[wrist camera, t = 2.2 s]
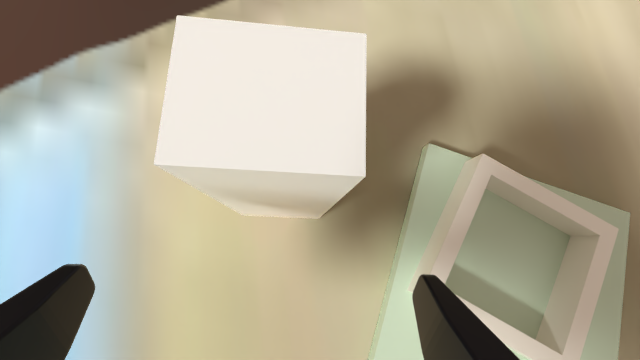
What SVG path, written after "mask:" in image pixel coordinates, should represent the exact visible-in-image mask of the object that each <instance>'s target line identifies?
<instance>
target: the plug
mask: <svg viewBox="0 0 640 360" xmlns="http://www.w3.org/2000/svg"><path fill="white" fill-rule="evenodd" d="M154 165H155V166H157V167H159V168H161V169H162V170H164V171H166V172H168V173H169V174H171V175H173V176H175V177H176V178H178V179H180V180H182V181H183V182H185V183H187V184H189V185H190V186H192V187H194V188H195V189H197V190H199V191H201V192H202V193H204V194H206V195H208V196H209V197H211V198H213V199H215V200H216V201H218V202H220V203H222V204H223V205H225V206H227V207H229V208H230V209H232V210H234V211H236V212H237V213H239V214H241V215H246V216H268V217H291V218H313V219H319V218H320V217H321V216H322V215H323V214H325V213H326V212H327V211H328V210H329V209H330V208H331V207H332V206H334V205H335V204H336V203H337V202H338V201H339V200H340V199H341V198H342V197H344V196H345V195H346V194H347V193H348V192H349V191H350V190H351V189H352V188H354V187H355V186H356V185H357V184H358V183H359V182H360V181H361V180H362V179H364V178H365V177H366V34H364V33H353V32H343V31H333V30H322V29H312V28H302V27H291V26H281V25H271V24H260V23H250V22H240V21H229V20H219V19H209V18H198V17H188V16H177V19H176V25H175V32H174V38H173V45H172V51H171V58H170V64H169V70H168V77H167V83H166V90H165V96H164V102H163V109H162V115H161V122H160V128H159V134H158V141H157V147H156V154H155V160H154Z"/></svg>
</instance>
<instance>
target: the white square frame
mask: <svg viewBox="0 0 640 360" xmlns="http://www.w3.org/2000/svg"><path fill="white" fill-rule="evenodd" d="M485 189H487V190H489V191H491V192H493V193H494V194H496V195H498V196H500V197H502V198H503V199H505V200H507V201H509V202H510V203H512V204H514V205H516V206H518V207H519V208H521V209H523V210H525V211H527V212H528V213H530V214H532V215H534V216H535V217H537V218H539V219H541V220H543V221H544V222H546V223H548V224H550V225H552V226H553V227H555V228H557V229H559V230H560V231H562V232H564V233H566V234H568V235H569V236H570V239H569V242H568V245H567V248H566V251H565V254H564V257H563V260H562V263H561V266H560V269H559V272H558V275H557V278H556V281H555V284H554V286H553V289H552V292H551V295H550V298H549V301H548V304H547V307H546V310H545V313H544V316H543V319H542V322H541V325H540V328H539V331H538V334H537V337H536V340H534V339H533V338H531V337H529V336H527V335H526V334H524V333H522V332H520V331H519V330H517V329H515V328H513V327H512V326H510V325H508V324H506V323H505V322H503V321H501V320H499V319H498V318H496V317H494V316H492V315H491V314H489V313H487V312H485V311H484V310H482V309H480V308H478V307H477V306H475V305H473V304H471V303H470V302H468V301H466V300H464V299H462V298H461V297H459V296H457V295H456V296H457V297H458V298H459V299H460V300H461V301H462V302H463V303H464V304H465V305H466V306H467V307H468V308H469V309H470V310H471V311H472V312H473V313H474V314H475V315H476V316H477V317H478V318H479V319H480V320H481V321H482V322H483V323H484V324H485V325H486V326H487V327H488V328H489V329H490V330H491V331H492V332H493V333H494V334H495V335H496V336H497V337H498V338H499V339H500V340H501V341H502V342H503V343H504V344H505V345H506V346H507V347H508V348H509V349H511V350H513V351H515V352H516V353H518V354H520V355H522V356H523V357H525V358H527V359H529V360H580V357H581V354H582V351H583V347H584V344H585V341H586V337H587V334H588V331H589V327H590V324H591V321H592V317H593V314H594V311H595V307H596V304H597V301H598V297H599V294H600V291H601V287H602V284H603V281H604V277H605V274H606V271H607V267H608V264H609V261H610V257H611V254H612V250H613V247H614V244H615V240H616V237H617V234H618V230H619V229H618V228H616V227H614V226H613V225H611V224H609V223H607V222H605V221H604V220H602V219H600V218H598V217H597V216H595V215H593V214H591V213H589V212H588V211H586V210H584V209H582V208H580V207H579V206H577V205H575V204H573V203H571V202H570V201H568V200H566V199H564V198H562V197H561V196H559V195H557V194H555V193H553V192H552V191H550V190H548V189H546V188H544V187H543V186H541V185H539V184H537V183H535V182H534V181H532V180H530V179H528V178H527V177H525V176H523V175H521V174H519V173H518V172H516V171H514V170H512V169H510V168H509V167H507V166H505V165H503V164H501V163H500V162H498V161H496V160H494V159H492V158H491V157H489V156H487V155H485V154H480V155H478V156H476V157H474V158H472V159H470V160H468V161H466V162H465V163H464V165H463V167H462V170H461V172H460V174H459V176H458V178H457V181H456V183H455V185H454V187H453V189H452V192H451V194H450V196H449V198H448V200H447V203H446V205H445V207H444V209H443V211H442V214H441V216H440V218H439V220H438V223H437V225H436V227H435V229H434V231H433V234H432V236H431V238H430V240H429V242H428V245H427V247H426V249H425V251H424V253H423V256H422V258H421V260H420V262H419V264H418V267H417V269H416V271H415V273H414V275H413V278H412V280H411V282H410V284H409V286H408V289H407V290H408V291H410V292H411V293H413V290H414V288H415V285H416V283H417V281H418V278H419V276H420V275H422V274H430V275H435V276H437V277H438V278H439V279H440V280H441V281H442V282H443V283H444V284H445V283H446V280H447V278H448V276H449V273H450V271H451V269H452V266H453V264H454V262H455V259H456V257H457V255H458V252H459V250H460V247H461V245H462V243H463V240H464V238H465V236H466V233H467V231H468V229H469V226H470V224H471V222H472V219H473V217H474V215H475V212H476V210H477V207H478V205H479V203H480V200H481V198H482V196H483V193H484V191H485Z"/></svg>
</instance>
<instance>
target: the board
mask: <svg viewBox="0 0 640 360" xmlns="http://www.w3.org/2000/svg"><path fill="white" fill-rule="evenodd" d="M470 159H472V158H471V157H468V156H465V155H462V154H459V153H456V152H453V151H450V150H447V149H445V148H442V147H439V146H436V145H433V144H430V143H429V144H427V145H426V146H424V147H423V149H422V153H421V157H420V161H419V164H418V168H417V172H416V176H415V180H414V184H413V188H412V191H411V195H410V199H409V203H408V207H407V211H406V215H405V218H404V222H403V226H402V230H401V234H400V238H399V241H398V245H397V249H396V253H395V257H394V261H393V265H392V268H391V272H390V276H389V280H388V284H387V288H386V292H385V295H384V299H383V303H382V307H381V311H380V315H379V319H378V322H377V326H376V330H375V334H374V338H373V342H372V345H371V349H370V353H369V357H368V360H424V358H423V354H422V349H421V344H420V339H419V333H418V328H417V322H416V317H415V311H414V306H413V300H412V294H413V293H411V292H410V291H408V290H407V289H408V286H409V284H410V282H411V280H412V278H413V275H414V273H415V271H416V269H417V267H418V264H419V262H420V260H421V258H422V256H423V253H424V251H425V249H426V247H427V245H428V242H429V240H430V238H431V236H432V234H433V231H434V229H435V227H436V225H437V223H438V220H439V218H440V216H441V214H442V211H443V209H444V207H445V205H446V203H447V200H448V198H449V196H450V194H451V192H452V189H453V187H454V185H455V183H456V181H457V178H458V176H459V174H460V172H461V170H462V167H463V165H464V163H465V162H466V161H468V160H470ZM527 178H528V177H527ZM528 179H530V180H532V181H534V182H535V183H537V184H539V185H541V186H543V187H544V188H546V189H548V190H550V191H552V192H553V193H555V194H557V195H559V196H561V197H562V198H564V199H566V200H568V201H570V202H571V203H573V204H575V205H577V206H579V207H580V208H582V209H584V210H586V211H588V212H589V213H591V214H593V215H595V216H597V217H598V218H600V219H602V220H604V221H605V222H607V223H609V224H611V225H613V226H614V227H616V228H618V229H619V230H618V234H617V237H616V240H615V244H614V247H613V250H612V254H611V257H610V261H609V264H608V267H607V271H606V274H605V277H604V281H603V284H602V287H601V291H600V294H599V297H598V301H597V304H596V307H595V311H594V314H593V317H592V321H591V324H590V327H589V331H588V334H587V337H586V341H585V344H584V347H583V351H582V354H581V357H580V360H618V353H619V341H620V329H621V318H622V306H623V294H624V282H625V271H626V259H627V247H628V235H629V224H630V213H629V212H626V211H624V210H621V209H618V208H615V207H612V206H609V205H606V204H603V203H600V202H598V201H595V200H592V199H589V198H586V197H583V196H580V195H577V194H574V193H572V192H569V191H566V190H563V189H560V188H557V187H554V186H551V185H548V184H546V183H543V182H540V181H537V180H534V179H531V178H528ZM569 239H570V236H569V235H568V234H566V233H564V232H562V231H560V230H559V229H557V228H555V227H553V226H552V225H550V224H548V223H546V222H544V221H543V220H541V219H539V218H537V217H535V216H534V215H532V214H530V213H528V212H527V211H525V210H523V209H521V208H519V207H518V206H516V205H514V204H512V203H510V202H509V201H507V200H505V199H503V198H502V197H500V196H498V195H496V194H494V193H493V192H491V191H489V190H487V189H485V191H484V193H483V196H482V198H481V200H480V203H479V205H478V207H477V210H476V212H475V215H474V217H473V219H472V222H471V224H470V226H469V229H468V231H467V233H466V236H465V238H464V240H463V243H462V245H461V247H460V250H459V252H458V255H457V257H456V259H455V262H454V264H453V266H452V269H451V271H450V273H449V276H448V278H447V280H446V283H445V285H446V286H447V287H448V288H449V289H450V290H451V291H452V292H453V293H454V294H455V295H457V296H459V297H461V298H462V299H464V300H466V301H468V302H470V303H471V304H473V305H475V306H477V307H478V308H480V309H482V310H484V311H485V312H487V313H489V314H491V315H492V316H494V317H496V318H498V319H499V320H501V321H503V322H505V323H506V324H508V325H510V326H512V327H513V328H515V329H517V330H519V331H520V332H522V333H524V334H526V335H527V336H529V337H531V338H533V339H534V340H536V337H537V334H538V331H539V328H540V325H541V322H542V319H543V316H544V313H545V310H546V307H547V304H548V301H549V298H550V295H551V292H552V289H553V286H554V284H555V281H556V278H557V275H558V272H559V269H560V266H561V263H562V260H563V257H564V254H565V251H566V248H567V245H568V242H569ZM510 350H511V349H510ZM511 351H512V352H513V353H514V354H515V355H516V356H517V357H518V358H519V359H520V360H529V359H527V358H525V357H523V356H522V355H520V354H518V353H516V352H515V351H513V350H511Z"/></svg>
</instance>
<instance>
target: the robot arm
mask: <svg viewBox="0 0 640 360" xmlns="http://www.w3.org/2000/svg"><path fill="white" fill-rule="evenodd" d="M94 291H95V284H94V282H93V280H92V278H91V275H90V273H89V271H88V269H87V268H86V266H84V265H82V264H66V265H63V266H61V267H60V268H58V269H57V270H55V271H53V272H52V273H50V274H48V275H47V276H45V277H44V278H42V279H40V280H39V281H37V282H36V283H34V284H32V285H31V286H29V287H27V288H26V289H24V290H23V291H21V292H19V293H18V294H16V295H15V296H13V297H11V298H10V299H8V300H7V301H5V302H3V303H2V304H0V360H65V358H66V356H67V354H68V352H69V350H70V348H71V345H72V343H73V341H74V339H75V336H76V334H77V332H78V329H79V327H80V325H81V322H82V320H83V318H84V315H85V313H86V311H87V308H88V306H89V304H90V301H91V299H92V297H93V294H94ZM412 300H413V306H414V311H415V317H416V322H417V328H418V333H419V339H420V344H421V349H422V354H423V358H424V360H520V359H519V358H518V357H517V356H516V355H515V354H514V353H513V352H512V351H511V350H510V349H509V348H508V347H507V346H506V345H505V344H504V343H503V342H502V341H501V340H500V339H499V338H498V337H497V336H496V335H495V334H494V333H493V332H492V331H491V330H490V329H489V328H488V327H487V326H486V325H485V324H484V323H483V322H482V321H481V320H480V319H479V318H478V317H477V316H476V315H475V314H474V313H473V312H472V311H471V310H470V309H469V308H468V307H467V306H466V305H465V304H464V303H463V302H462V301H461V300H460V299H459V298H458V297H457V296H456V295H455V294H454V293H453V292H452V291H451V290H450V289H449V288H448V287H447V286H446V285H445V284H444V283H443V282H442V281H441V280H440V279H439V278H438V277H437V276H435V275H430V274H422V275H420V276H419V278H418V281H417V283H416V285H415V288H414V290H413V294H412Z"/></svg>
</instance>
